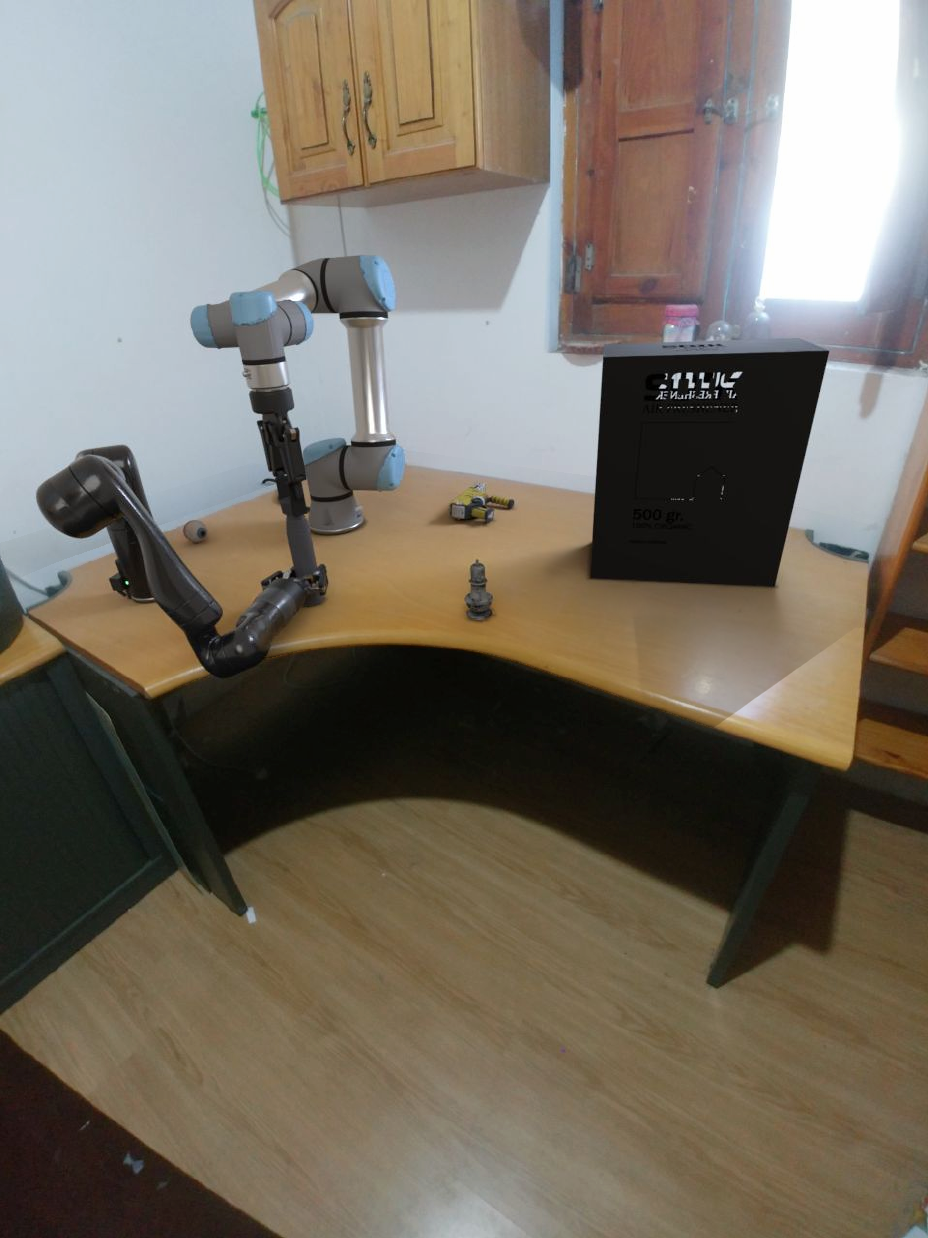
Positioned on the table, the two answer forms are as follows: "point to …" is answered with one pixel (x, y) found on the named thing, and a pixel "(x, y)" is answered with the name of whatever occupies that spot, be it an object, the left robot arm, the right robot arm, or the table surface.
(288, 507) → the cap
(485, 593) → the grey chess piece
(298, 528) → the bottle
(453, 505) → the toy gun
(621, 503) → the cardboard box
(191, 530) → the eyeball
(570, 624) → the table surface
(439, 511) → the table surface
